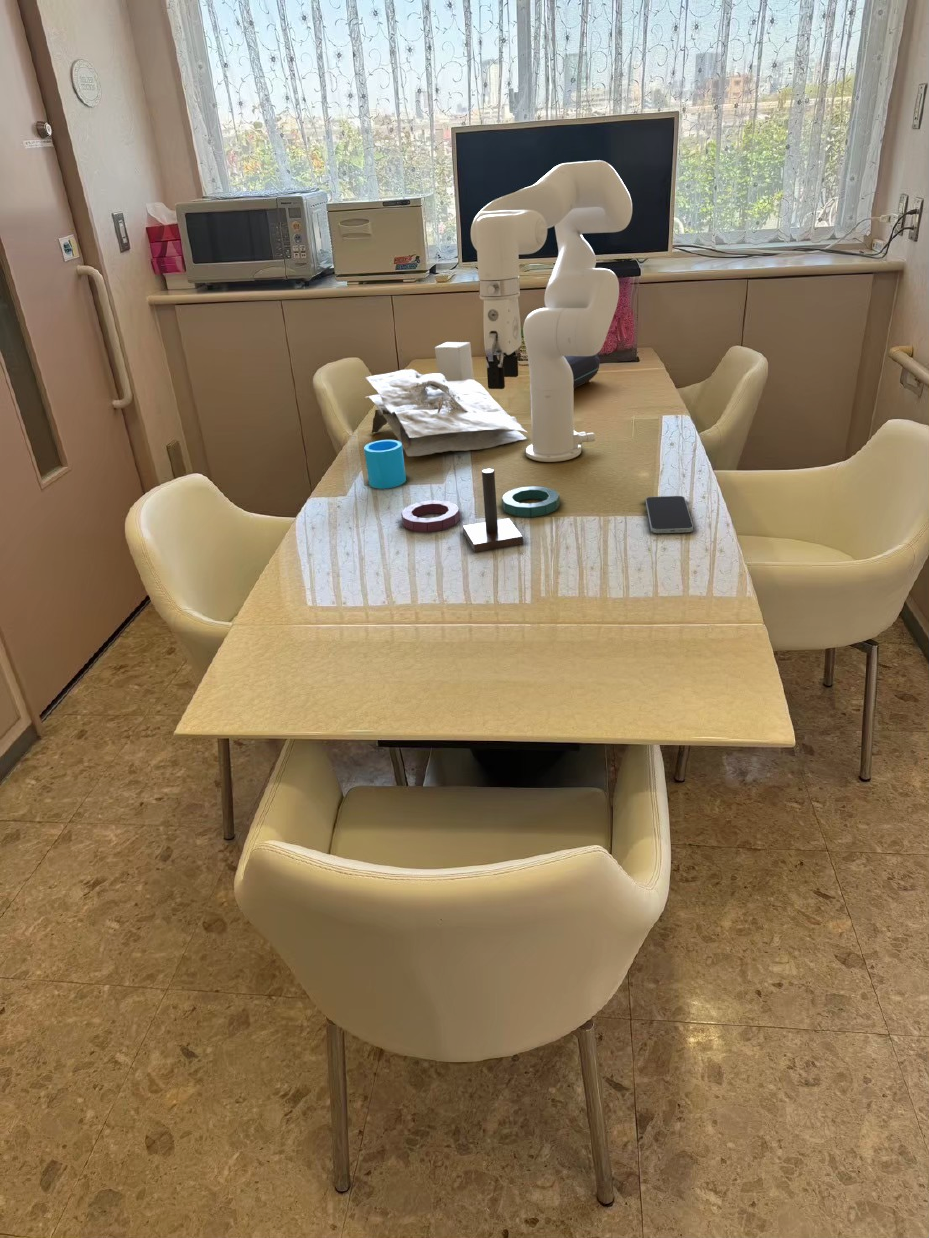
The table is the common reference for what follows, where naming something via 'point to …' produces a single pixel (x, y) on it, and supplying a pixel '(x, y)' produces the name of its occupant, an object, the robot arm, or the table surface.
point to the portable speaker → (583, 368)
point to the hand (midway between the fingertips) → (503, 382)
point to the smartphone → (668, 514)
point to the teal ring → (534, 509)
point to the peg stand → (491, 522)
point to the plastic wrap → (440, 413)
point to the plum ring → (430, 524)
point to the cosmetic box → (454, 361)
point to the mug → (385, 464)
